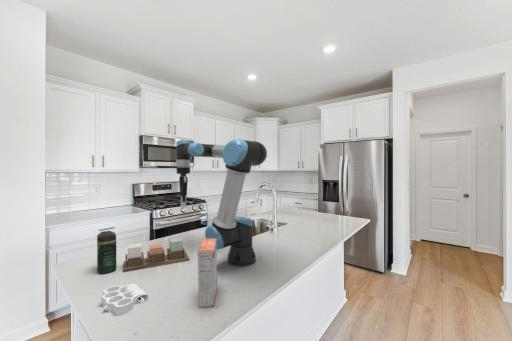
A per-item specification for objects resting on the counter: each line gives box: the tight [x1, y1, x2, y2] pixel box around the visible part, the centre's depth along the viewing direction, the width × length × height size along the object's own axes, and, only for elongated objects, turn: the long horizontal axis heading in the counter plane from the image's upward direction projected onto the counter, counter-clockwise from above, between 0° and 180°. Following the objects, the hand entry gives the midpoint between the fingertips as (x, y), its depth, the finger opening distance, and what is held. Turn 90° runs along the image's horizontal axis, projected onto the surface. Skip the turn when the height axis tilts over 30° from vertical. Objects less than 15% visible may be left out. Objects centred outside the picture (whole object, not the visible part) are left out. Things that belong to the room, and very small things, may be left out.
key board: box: [122, 247, 190, 273], centre depth 126 cm, size 10×31×6 cm, turn 117°
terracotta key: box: [148, 243, 164, 255], centre depth 126 cm, size 6×6×6 cm
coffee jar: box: [96, 230, 117, 274], centre depth 117 cm, size 10×8×19 cm
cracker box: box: [197, 238, 218, 308], centre depth 93 cm, size 14×6×21 cm, turn 5°
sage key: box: [168, 237, 184, 252], centre depth 130 cm, size 6×6×6 cm
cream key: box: [127, 242, 142, 260], centre depth 121 cm, size 6×6×6 cm
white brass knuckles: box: [97, 283, 149, 316], centre depth 90 cm, size 3×18×15 cm
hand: (183, 206), depth 142 cm, fingers closed
